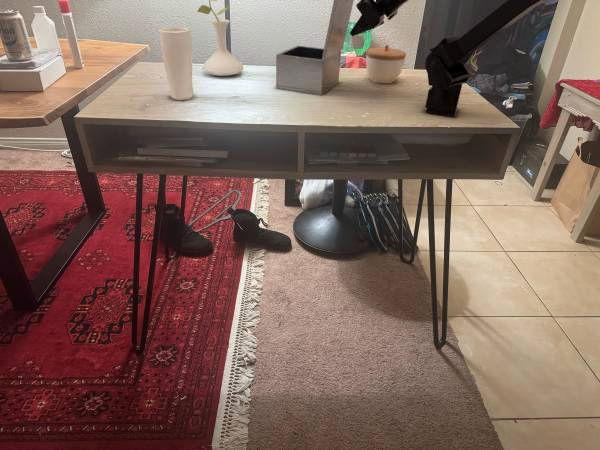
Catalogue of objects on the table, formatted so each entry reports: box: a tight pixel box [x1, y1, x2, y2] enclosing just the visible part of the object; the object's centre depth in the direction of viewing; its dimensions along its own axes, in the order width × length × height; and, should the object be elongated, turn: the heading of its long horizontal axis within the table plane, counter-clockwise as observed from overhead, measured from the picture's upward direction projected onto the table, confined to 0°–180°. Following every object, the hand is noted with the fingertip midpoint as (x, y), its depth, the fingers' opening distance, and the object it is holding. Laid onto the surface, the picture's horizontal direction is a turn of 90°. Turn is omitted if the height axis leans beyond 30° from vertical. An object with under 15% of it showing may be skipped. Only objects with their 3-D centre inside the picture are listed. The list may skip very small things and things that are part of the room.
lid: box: [322, 0, 355, 59], centre depth 104 cm, size 14×14×1 cm
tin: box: [275, 45, 342, 96], centre depth 113 cm, size 13×14×8 cm
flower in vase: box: [196, 0, 245, 77], centre depth 115 cm, size 13×11×25 cm
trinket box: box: [365, 44, 407, 84], centre depth 119 cm, size 11×11×9 cm
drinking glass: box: [158, 26, 194, 101], centre depth 98 cm, size 7×7×15 cm
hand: (351, 34), depth 104 cm, fingers closed
